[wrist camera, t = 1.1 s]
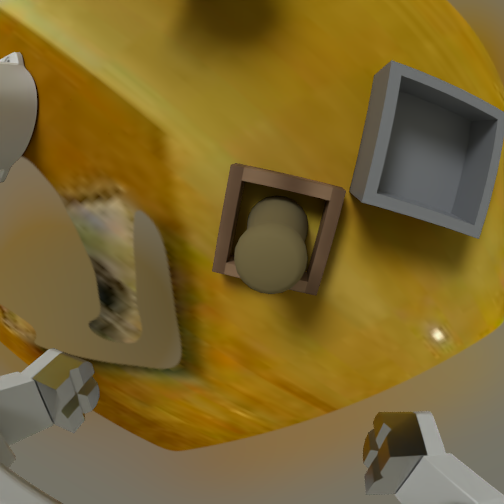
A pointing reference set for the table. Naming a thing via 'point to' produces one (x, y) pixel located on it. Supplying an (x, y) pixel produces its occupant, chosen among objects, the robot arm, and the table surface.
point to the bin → (428, 150)
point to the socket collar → (290, 183)
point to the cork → (273, 246)
